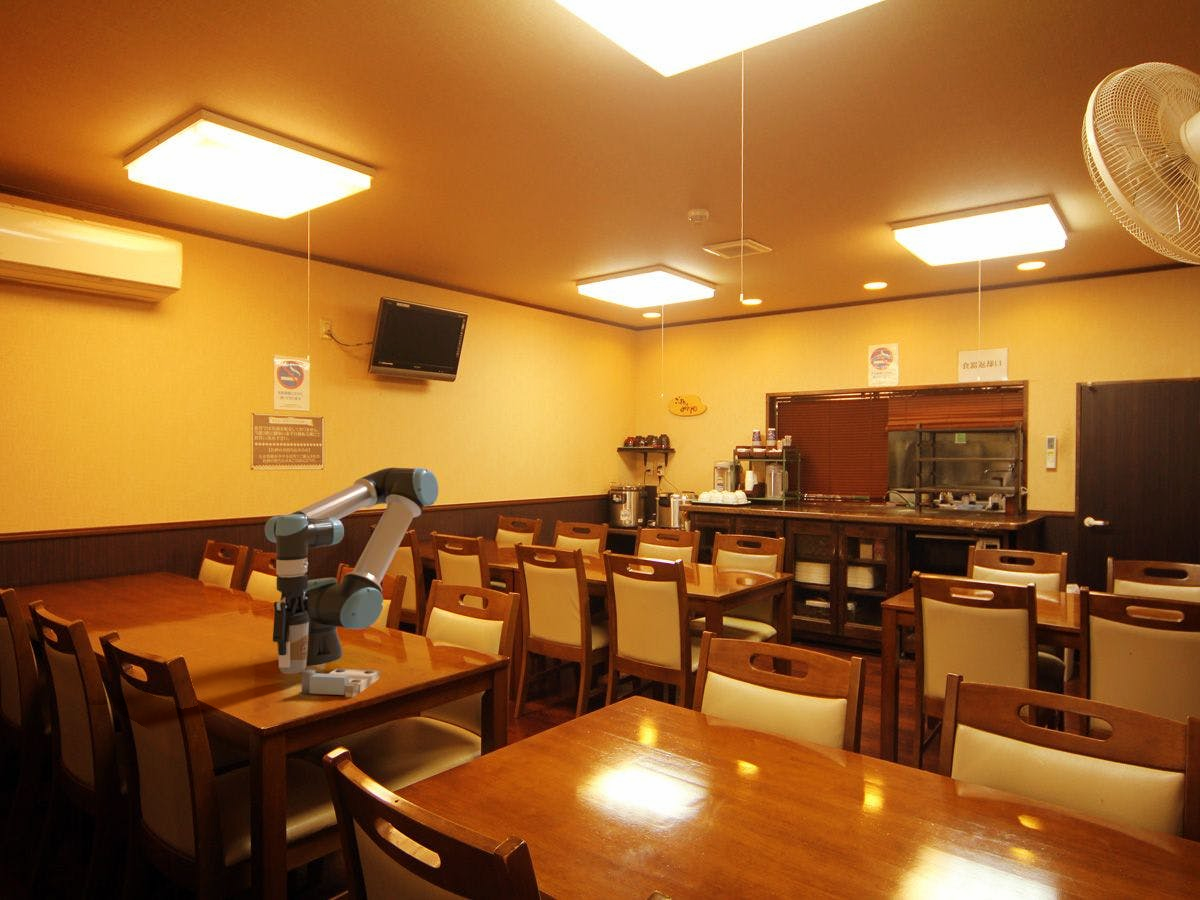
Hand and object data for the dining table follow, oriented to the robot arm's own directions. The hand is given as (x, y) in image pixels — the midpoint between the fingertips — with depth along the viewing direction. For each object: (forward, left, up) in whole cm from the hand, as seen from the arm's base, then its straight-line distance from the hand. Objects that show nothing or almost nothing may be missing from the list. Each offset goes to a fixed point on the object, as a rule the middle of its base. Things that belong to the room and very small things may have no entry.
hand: (292, 662), depth 196 cm
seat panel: (-1, +15, -6) cm, 16 cm away
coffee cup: (0, 0, -2) cm, 2 cm away
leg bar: (+7, +8, -6) cm, 13 cm away
